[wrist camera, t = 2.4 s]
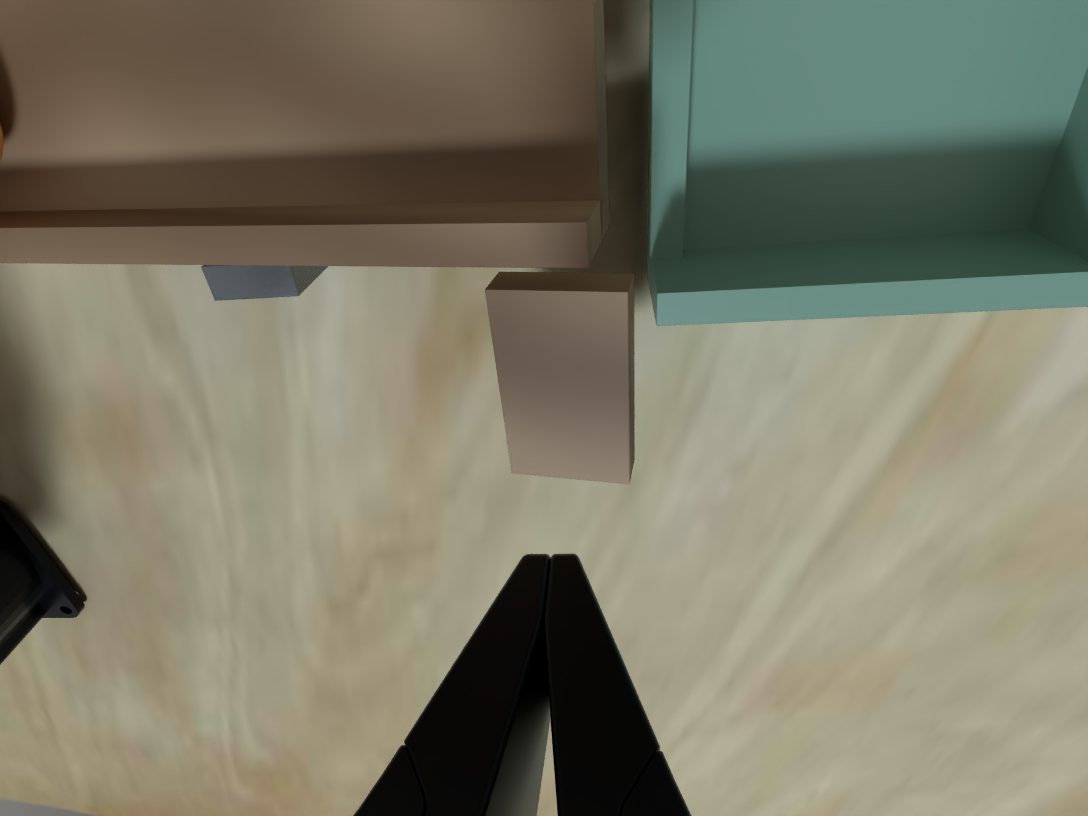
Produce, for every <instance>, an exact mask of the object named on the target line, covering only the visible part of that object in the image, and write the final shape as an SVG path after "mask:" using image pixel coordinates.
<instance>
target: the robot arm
mask: <svg viewBox="0 0 1088 816" xmlns="http://www.w3.org/2000/svg"><path fill="white" fill-rule="evenodd" d="M84 607H85V605H84V603H83V601H82V600H81V599H80V597H79V596H78V595H77V593H76V592H75V591H74V590H73V588H72V587H71V586H70V584H69V583H68V582H67V580H66V579H65V578H64V576H63V575H62V574H61V573H60V571H59V570H58V569H57V567H56V566H55V565H54V563H53V562H52V561H51V559H50V558H49V557H48V555H47V554H46V553H45V552H44V550H43V549H42V548H41V546H40V545H39V544H38V542H37V541H36V540H35V538H34V537H33V536H32V535H31V533H30V532H29V531H28V529H27V528H26V527H25V525H24V524H23V523H22V521H21V520H20V519H19V517H18V516H17V515H16V514H15V512H14V511H13V510H12V508H11V507H10V506H9V505H8V504H7V503H5V502H4V501H2V500H0V664H1V663H2V662H3V661H4V660H5V659H6V658H7V657H8V655H9V654H10V653H11V652H12V651H13V650H14V649H15V648H16V646H17V645H18V644H19V643H20V642H21V641H22V640H23V639H24V637H25V636H26V635H27V634H28V633H29V632H30V631H31V630H32V629H33V627H34V626H35V625H36V624H37V623H38V622H39V621H40V620H41V618H74V617H77V616H78V615H79V614H80V612H81V611H82V610H83V609H84ZM550 718H551V731H552V744H553V758H554V771H555V784H556V797H557V811H558V816H691V814H690V812H689V810H688V808H687V805H686V803H685V801H684V799H683V797H682V795H681V793H680V790H679V788H678V786H677V784H676V782H675V780H674V777H673V775H672V773H671V770H670V768H669V766H668V764H667V761H666V759H665V757H664V754H663V752H662V751H660V746H659V743H658V741H657V739H656V736H655V734H654V732H653V729H652V727H651V725H650V722H649V720H648V718H647V715H646V713H645V711H644V708H643V706H642V704H641V701H640V699H639V697H638V694H637V692H636V690H635V687H634V685H633V683H632V680H631V678H630V676H629V673H628V671H627V669H626V666H625V664H624V662H623V659H622V657H621V655H620V652H619V650H618V648H617V645H616V643H615V641H614V638H613V636H612V634H611V631H610V629H609V627H608V624H607V622H606V620H605V617H604V615H603V613H602V610H601V608H600V606H599V603H598V601H597V599H596V596H595V594H594V592H593V589H592V587H591V585H590V582H589V580H588V578H587V575H586V573H585V571H584V568H583V566H582V564H581V562H580V559H579V557H578V556H577V555H576V554H554V555H552V557H550V556H549V555H547V554H527V555H525V556H523V557H522V559H521V560H520V562H519V563H518V565H517V566H516V568H515V569H514V571H513V572H512V574H511V576H510V577H509V579H508V580H507V582H506V583H505V585H504V586H503V588H502V590H501V591H500V593H499V594H498V596H497V597H496V599H495V600H494V602H493V604H492V605H491V607H490V608H489V610H488V611H487V613H486V614H485V616H484V617H483V619H482V621H481V622H480V624H479V625H478V627H477V628H476V630H475V631H474V633H473V635H472V636H471V638H470V639H469V641H468V642H467V644H466V645H465V647H464V649H463V650H462V652H461V653H460V655H459V656H458V658H457V659H456V661H455V663H454V664H453V666H452V667H451V669H450V670H449V672H448V673H447V675H446V676H445V678H444V680H443V681H442V683H441V684H440V686H439V687H438V689H437V690H436V692H435V694H434V695H433V697H432V698H431V700H430V701H429V703H428V704H427V706H426V708H425V709H424V711H423V712H422V714H421V715H420V717H419V718H418V720H417V722H416V723H415V725H414V726H413V728H412V729H411V731H410V732H409V734H408V736H407V737H406V739H405V741H404V743H405V745H402V746H400V747H399V749H398V751H397V752H396V754H395V755H394V757H393V758H392V760H391V762H390V763H389V765H388V766H387V768H386V769H385V771H384V772H383V774H382V775H381V777H380V778H379V780H378V781H377V783H376V784H375V786H374V787H373V788H372V790H371V791H370V793H369V794H368V796H367V797H366V799H365V800H364V802H363V803H362V805H361V806H360V807H359V809H358V810H357V812H356V813H355V814H354V815H353V816H537V809H538V802H539V794H540V787H541V780H542V773H543V766H544V759H545V751H546V744H547V737H548V730H549V723H550Z"/></svg>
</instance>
